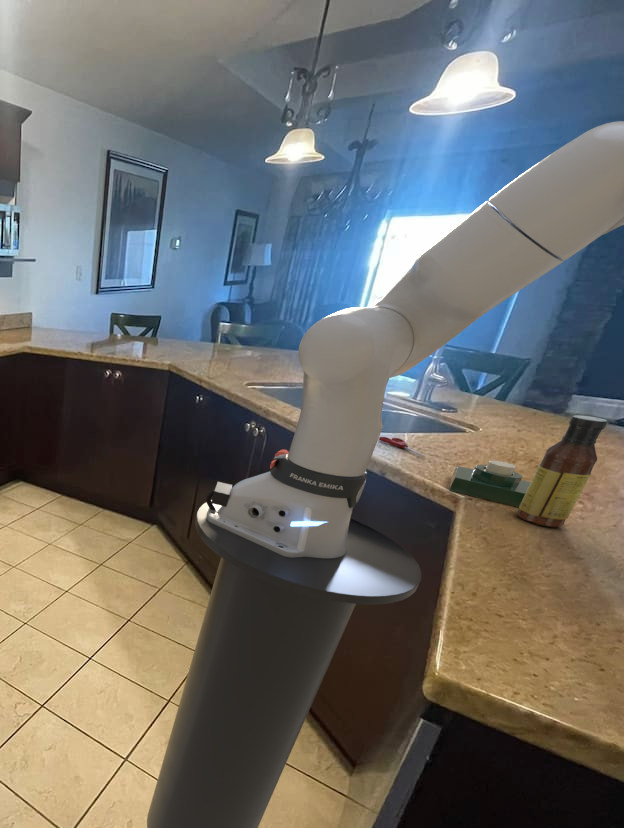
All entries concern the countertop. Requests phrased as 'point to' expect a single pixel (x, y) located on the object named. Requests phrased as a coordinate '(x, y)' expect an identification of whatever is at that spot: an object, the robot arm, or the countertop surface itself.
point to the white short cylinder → (500, 467)
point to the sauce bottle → (562, 474)
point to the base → (489, 485)
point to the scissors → (398, 443)
